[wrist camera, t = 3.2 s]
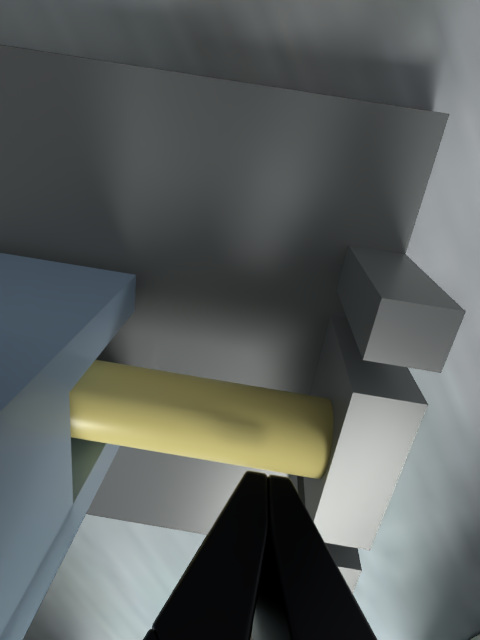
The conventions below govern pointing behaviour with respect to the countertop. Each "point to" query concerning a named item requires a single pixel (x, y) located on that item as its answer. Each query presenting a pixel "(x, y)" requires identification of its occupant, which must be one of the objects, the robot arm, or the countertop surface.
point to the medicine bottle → (476, 637)
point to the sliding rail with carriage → (233, 282)
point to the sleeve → (47, 418)
